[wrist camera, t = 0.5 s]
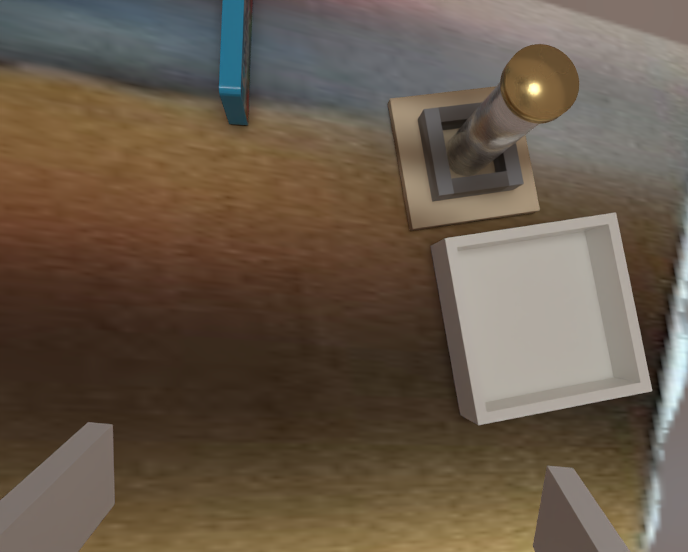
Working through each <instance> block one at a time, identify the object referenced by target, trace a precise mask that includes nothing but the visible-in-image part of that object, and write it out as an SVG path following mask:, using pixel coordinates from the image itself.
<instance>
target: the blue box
mask: <svg viewBox="0 0 688 552" xmlns="http://www.w3.org/2000/svg"><path fill="white" fill-rule="evenodd" d="M252 10H253V0H223V5H222V28H221V51H220V75H219V94H220V98H221V101H222V104H223V107H224V110H225V113H226V116H227V119H228V122H229V124H235V125H248V118H249V91H250V64H251V37H252Z"/></svg>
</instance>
